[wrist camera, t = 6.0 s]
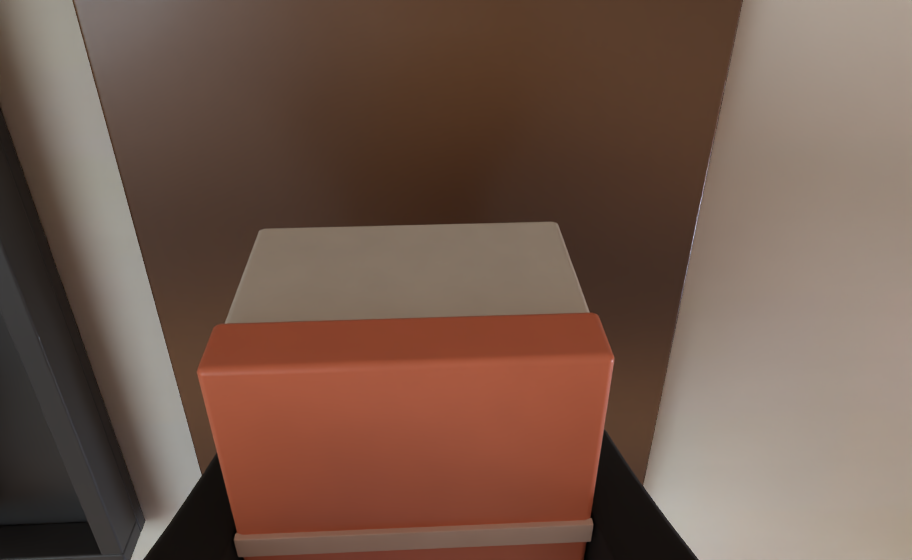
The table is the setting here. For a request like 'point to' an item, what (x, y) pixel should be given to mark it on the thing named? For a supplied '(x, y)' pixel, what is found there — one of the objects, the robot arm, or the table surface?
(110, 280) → the table surface
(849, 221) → the table surface
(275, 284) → the salmon nigiri
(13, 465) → the sushi tray
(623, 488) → the robot arm
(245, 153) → the serving board
